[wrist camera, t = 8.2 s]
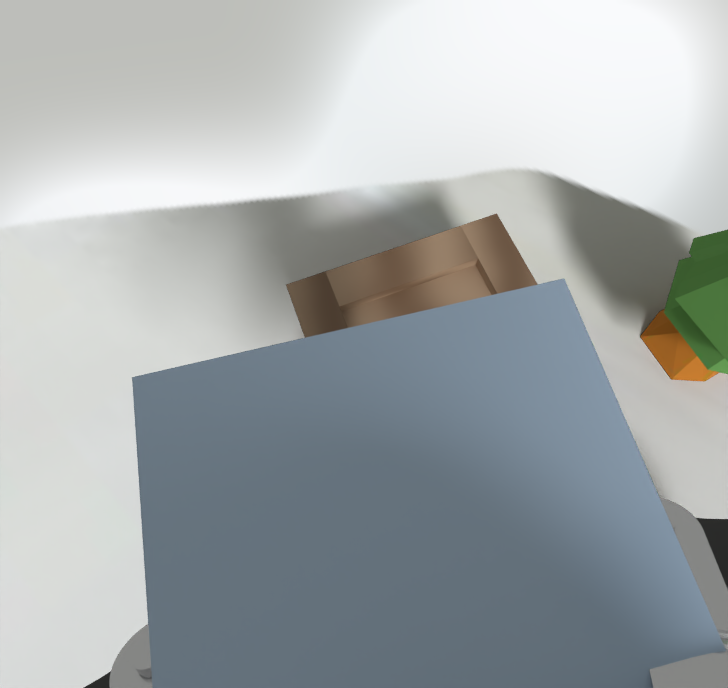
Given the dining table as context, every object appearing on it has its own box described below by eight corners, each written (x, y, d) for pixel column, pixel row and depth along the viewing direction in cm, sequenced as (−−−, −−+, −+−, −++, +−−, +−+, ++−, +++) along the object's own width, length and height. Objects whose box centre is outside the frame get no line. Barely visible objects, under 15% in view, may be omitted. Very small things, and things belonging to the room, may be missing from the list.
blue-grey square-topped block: (452, 416, 16) (563, 277, 6) (510, 610, 14) (800, 823, 4) (280, 458, 15) (132, 377, 6) (315, 662, 13) (174, 1016, 4)
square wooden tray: (473, 267, 36) (496, 213, 29) (564, 438, 31) (614, 418, 25) (301, 327, 34) (286, 284, 28) (370, 517, 29) (370, 518, 23)
